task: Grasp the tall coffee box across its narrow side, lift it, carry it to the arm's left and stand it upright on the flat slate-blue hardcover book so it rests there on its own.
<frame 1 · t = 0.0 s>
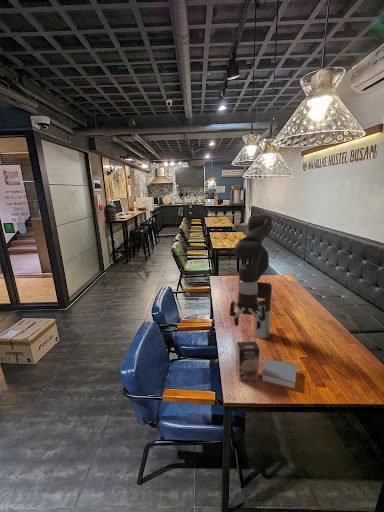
hand: (247, 326, 103), 29 cm above the table, fingers open, 8 cm apart
book: (279, 376, 115), on the table
coffee box: (247, 375, 116), on the table
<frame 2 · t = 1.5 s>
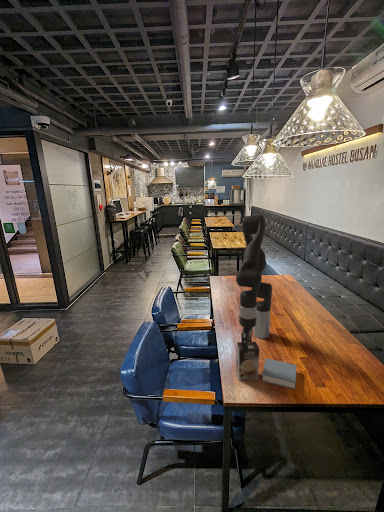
hand: (247, 346, 112), 15 cm above the table, fingers open, 8 cm apart
coffee box: (247, 376, 116), on the table, touching gripper
everything else where it was.
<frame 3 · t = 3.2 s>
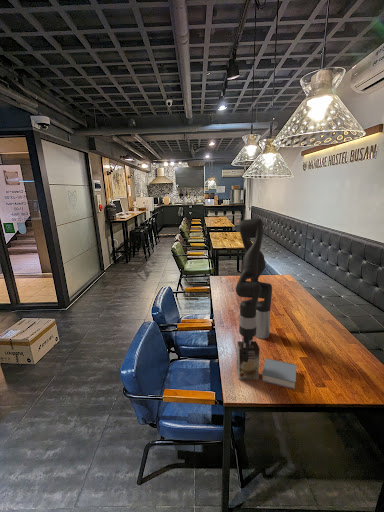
hand: (247, 355, 114), 11 cm above the table, fingers closed on coffee box, 8 cm apart
coffee box: (247, 375, 116), on the table, touching gripper
everything else where it was.
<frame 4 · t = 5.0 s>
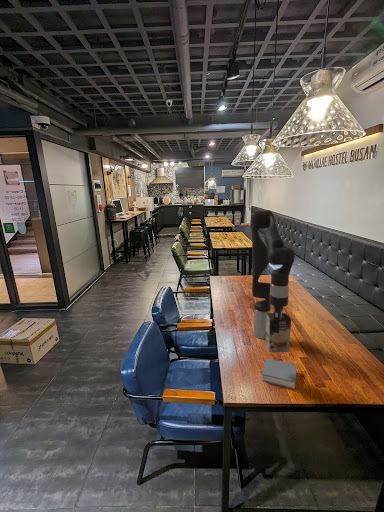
hand: (277, 327, 109), 25 cm above the table, fingers closed on coffee box, 8 cm apart
coffee box: (276, 348, 112), point 14 cm above the table, touching gripper
everything else where it was.
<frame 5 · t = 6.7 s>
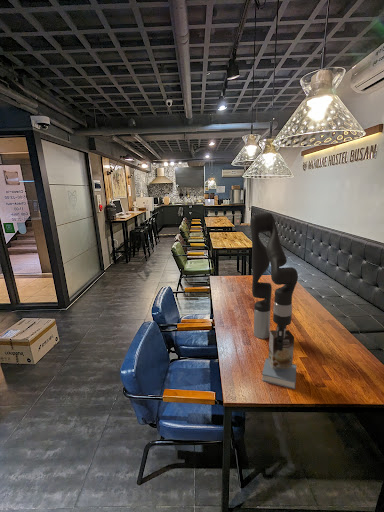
hand: (280, 344, 111), 16 cm above the table, fingers closed on coffee box, 8 cm apart
coffee box: (279, 365, 114), point 6 cm above the table, touching gripper
everything else where it was.
when the fingers open (15 cm above the table, at t = 7.7 s): coffee box stays where it is, point 4 cm above the table.
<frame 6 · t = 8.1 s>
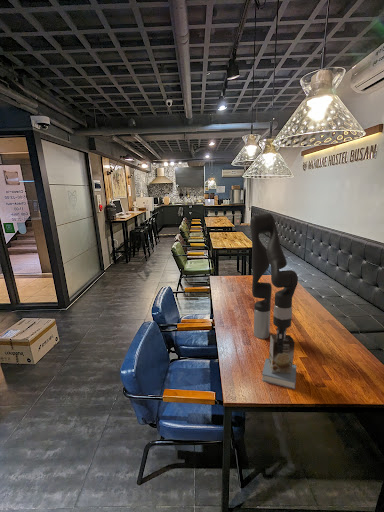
hand: (280, 347, 111), 15 cm above the table, fingers open, 8 cm apart
coffee box: (279, 369, 114), point 4 cm above the table
everything else where it was.
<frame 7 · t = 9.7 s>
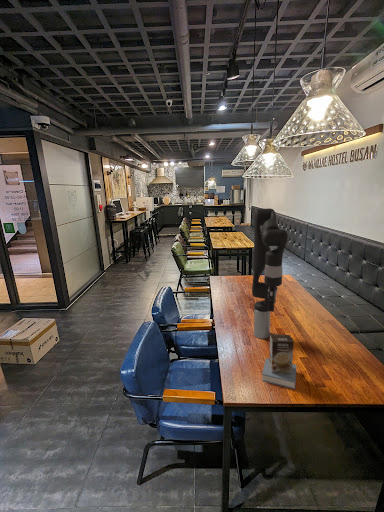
hand: (272, 306, 114), 32 cm above the table, fingers open, 8 cm apart
book: (279, 376, 115), on the table, touching coffee box
coffee box: (280, 369, 114), point 4 cm above the table, touching book
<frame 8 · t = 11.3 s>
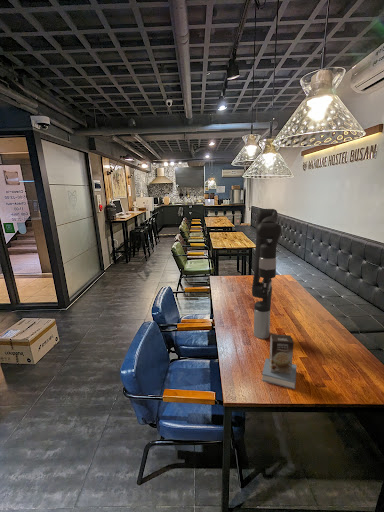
hand: (266, 299, 117), 34 cm above the table, fingers open, 8 cm apart
book: (279, 376, 115), on the table
coffee box: (279, 369, 114), point 4 cm above the table
at the end: coffee box inside the target area on the book (0.1 cm from its centre), point 3.8 cm above the book's base; coffee box tilted 0°; the gripper is holding nothing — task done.
